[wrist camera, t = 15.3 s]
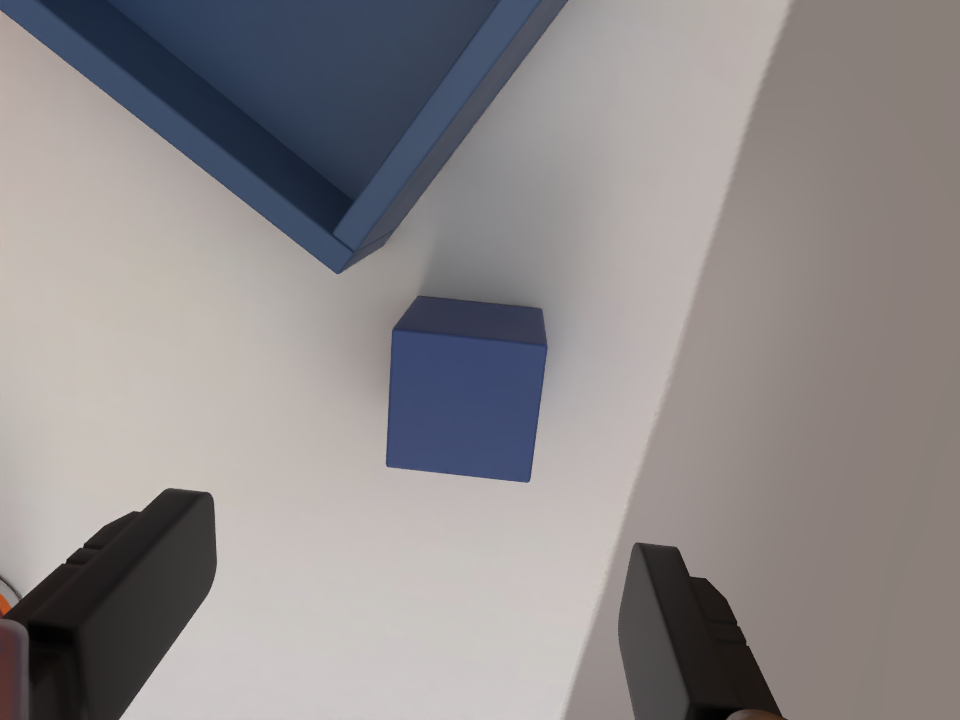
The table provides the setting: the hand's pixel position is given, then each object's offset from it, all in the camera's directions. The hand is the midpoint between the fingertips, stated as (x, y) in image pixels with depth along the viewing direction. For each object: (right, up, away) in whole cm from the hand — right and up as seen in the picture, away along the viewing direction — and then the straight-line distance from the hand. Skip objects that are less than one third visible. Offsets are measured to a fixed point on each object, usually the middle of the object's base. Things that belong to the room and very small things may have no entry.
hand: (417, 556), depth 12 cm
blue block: (+1, +4, +11) cm, 12 cm away
